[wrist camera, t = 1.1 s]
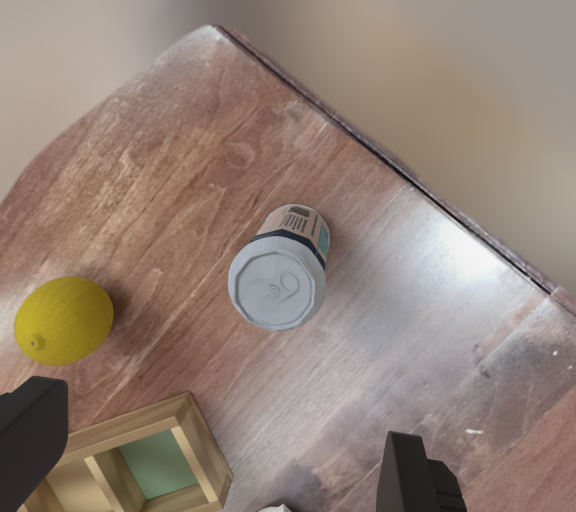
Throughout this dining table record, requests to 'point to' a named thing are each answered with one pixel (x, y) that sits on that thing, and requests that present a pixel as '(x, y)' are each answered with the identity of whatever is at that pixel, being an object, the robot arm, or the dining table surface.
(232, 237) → the dining table surface
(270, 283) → the beer can
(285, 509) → the long cone
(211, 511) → the wooden divided tray
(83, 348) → the lemon
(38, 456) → the robot arm
